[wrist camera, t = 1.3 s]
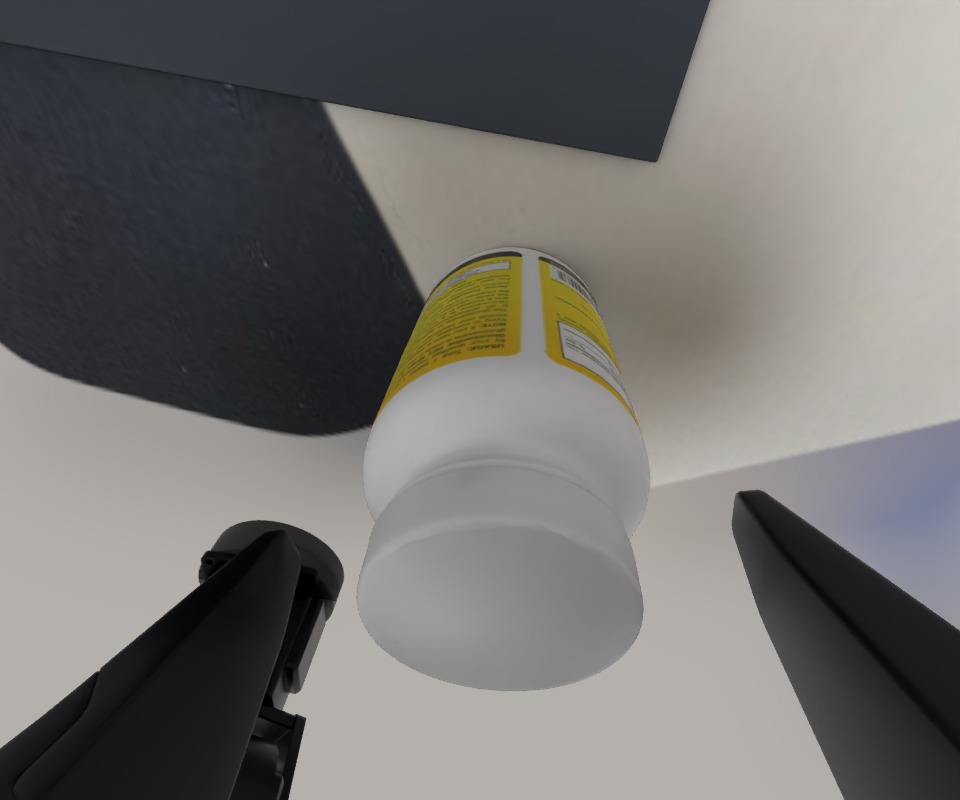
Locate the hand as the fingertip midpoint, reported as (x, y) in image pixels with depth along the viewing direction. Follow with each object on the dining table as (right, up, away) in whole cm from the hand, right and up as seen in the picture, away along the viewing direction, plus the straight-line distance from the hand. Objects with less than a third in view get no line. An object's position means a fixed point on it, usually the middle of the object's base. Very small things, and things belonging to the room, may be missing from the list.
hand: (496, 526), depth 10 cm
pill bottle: (+1, +5, +8) cm, 9 cm away
